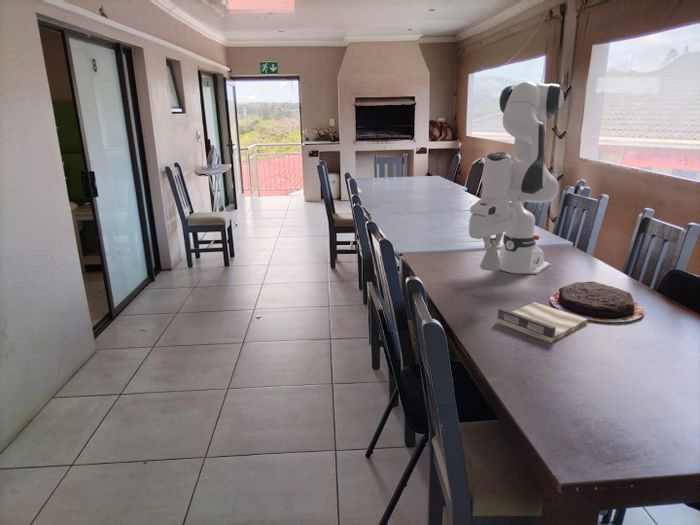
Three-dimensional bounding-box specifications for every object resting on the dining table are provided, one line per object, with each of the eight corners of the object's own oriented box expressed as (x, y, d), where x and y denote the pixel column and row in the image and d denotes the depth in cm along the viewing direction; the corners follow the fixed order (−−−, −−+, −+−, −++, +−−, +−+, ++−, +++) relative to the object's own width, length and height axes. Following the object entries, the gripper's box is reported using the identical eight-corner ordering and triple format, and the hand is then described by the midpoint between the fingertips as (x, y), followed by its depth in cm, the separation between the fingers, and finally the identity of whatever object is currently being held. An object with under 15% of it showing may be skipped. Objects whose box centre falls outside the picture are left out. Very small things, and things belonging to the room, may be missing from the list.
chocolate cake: (605, 333, 140) (608, 312, 138) (531, 302, 164) (533, 284, 162) (662, 313, 153) (666, 294, 151) (586, 287, 176) (588, 270, 174)
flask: (501, 272, 154) (504, 242, 151) (478, 270, 156) (480, 241, 153) (502, 265, 161) (504, 236, 157) (480, 263, 163) (481, 235, 160)
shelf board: (533, 306, 159) (535, 293, 158) (586, 323, 146) (588, 310, 144) (496, 322, 148) (497, 309, 146) (550, 343, 134) (552, 328, 133)
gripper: (506, 199, 160) (503, 239, 165) (466, 208, 148) (464, 250, 153) (522, 202, 155) (519, 242, 160) (483, 211, 144) (480, 255, 148)
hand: (492, 247), depth 156 cm, fingers closed on flask, 3 cm apart
